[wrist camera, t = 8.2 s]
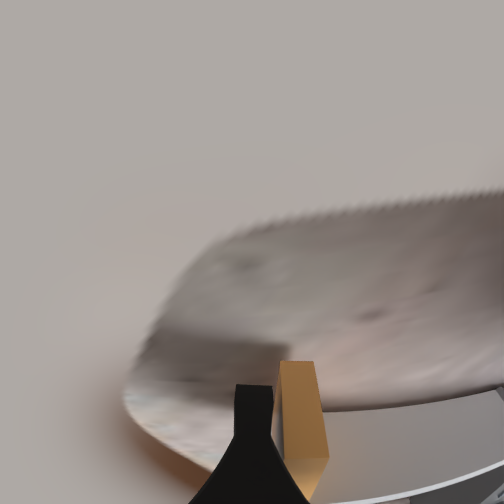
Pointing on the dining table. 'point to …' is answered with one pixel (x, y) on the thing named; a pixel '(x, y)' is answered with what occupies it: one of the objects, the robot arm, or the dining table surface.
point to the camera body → (468, 491)
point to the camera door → (381, 442)
